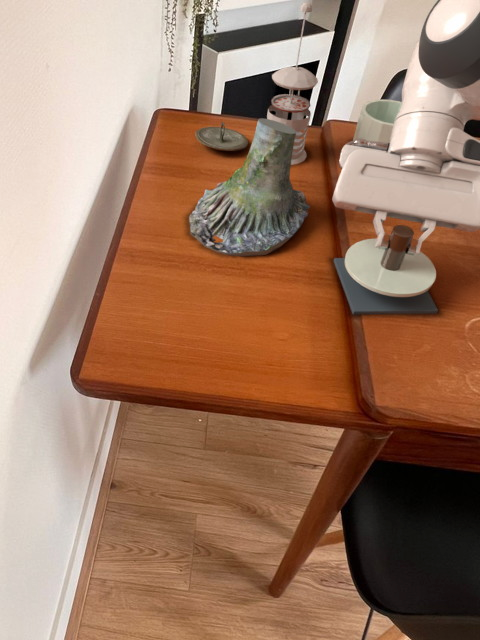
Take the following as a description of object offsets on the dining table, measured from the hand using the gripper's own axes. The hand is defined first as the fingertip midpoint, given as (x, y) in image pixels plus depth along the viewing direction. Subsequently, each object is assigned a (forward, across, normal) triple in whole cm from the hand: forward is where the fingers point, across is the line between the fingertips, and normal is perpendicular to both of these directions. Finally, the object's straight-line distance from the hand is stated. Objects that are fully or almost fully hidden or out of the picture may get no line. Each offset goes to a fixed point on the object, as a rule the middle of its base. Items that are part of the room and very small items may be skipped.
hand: (396, 251), depth 72 cm
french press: (-21, -21, +31) cm, 43 cm away
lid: (-20, -33, +30) cm, 48 cm away
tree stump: (-3, -22, +13) cm, 26 cm away
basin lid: (+2, 0, +3) cm, 3 cm away
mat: (+4, 0, +5) cm, 7 cm away
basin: (-27, -2, +36) cm, 45 cm away
